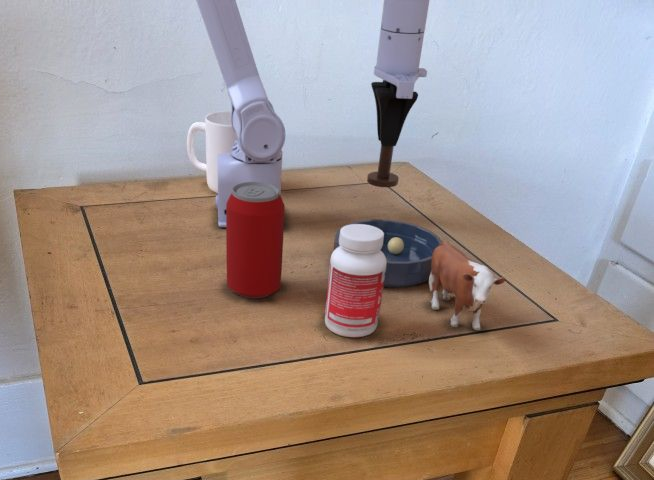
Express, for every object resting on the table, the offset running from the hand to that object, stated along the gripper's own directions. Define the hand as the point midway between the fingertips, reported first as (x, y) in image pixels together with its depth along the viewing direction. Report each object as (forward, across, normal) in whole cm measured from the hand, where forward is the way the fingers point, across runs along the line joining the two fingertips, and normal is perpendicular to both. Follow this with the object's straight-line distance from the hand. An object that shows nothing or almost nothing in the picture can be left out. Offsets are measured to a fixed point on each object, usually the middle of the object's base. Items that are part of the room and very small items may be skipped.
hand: (386, 142), depth 100 cm
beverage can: (+11, -25, +20) cm, 34 cm away
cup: (+11, +12, +24) cm, 29 cm away
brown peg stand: (+5, 0, 0) cm, 5 cm away
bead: (+9, -15, 0) cm, 17 cm away
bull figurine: (+11, -32, -4) cm, 34 cm away
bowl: (+10, -18, +2) cm, 21 cm away
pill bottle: (+11, -34, +8) cm, 37 cm away
